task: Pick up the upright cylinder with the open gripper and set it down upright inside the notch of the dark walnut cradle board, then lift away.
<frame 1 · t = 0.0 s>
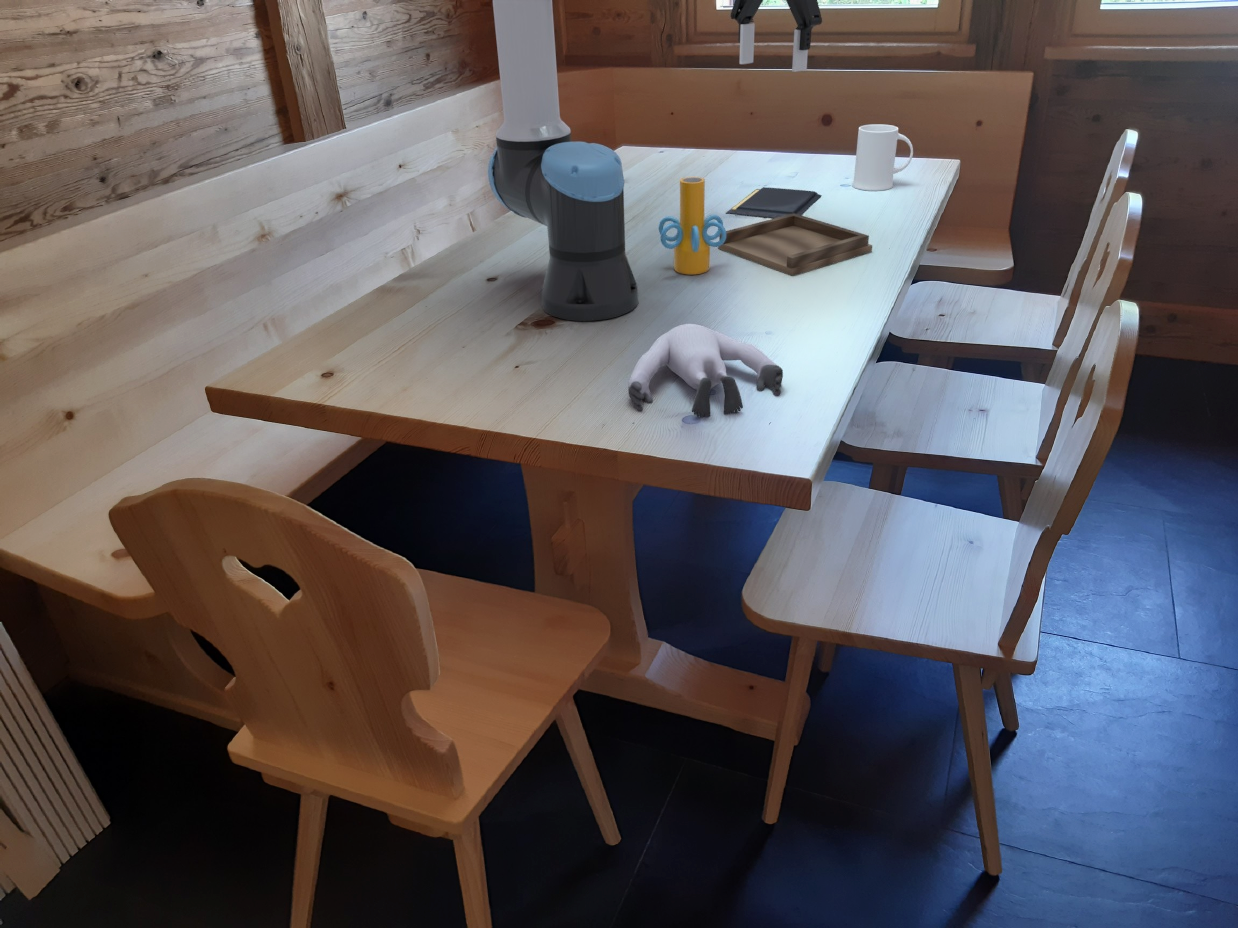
hand: (772, 67, 161), 28 cm above the table, fingers open, 13 cm apart
wallet: (774, 208, 188), on the table
cylinder: (691, 270, 155), on the table
notched cradle: (793, 250, 162), on the table
yeti figurine: (702, 385, 119), on the table
mug: (880, 187, 196), on the table
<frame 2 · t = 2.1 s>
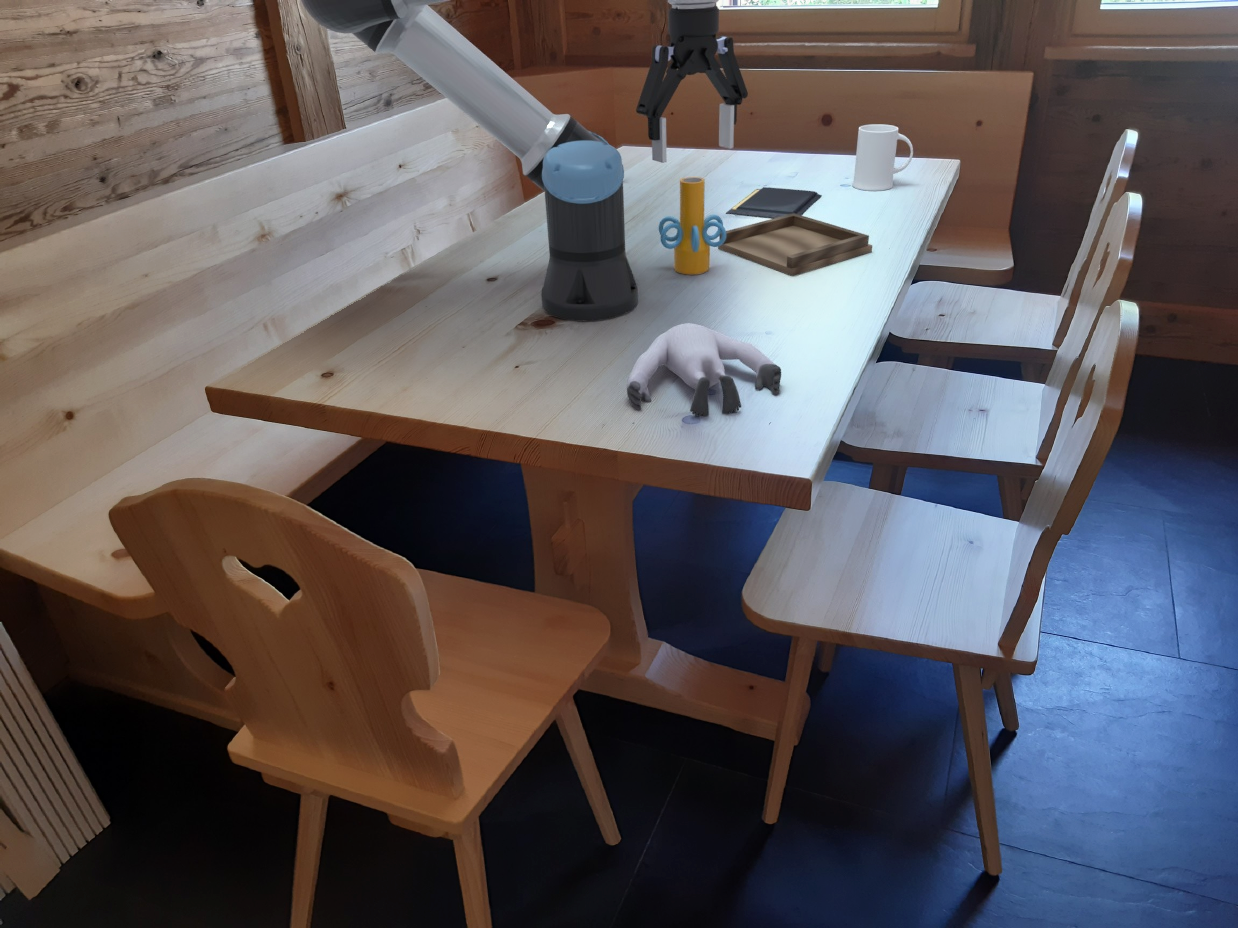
hand: (693, 154, 145), 19 cm above the table, fingers open, 13 cm apart
nothing on the table moved.
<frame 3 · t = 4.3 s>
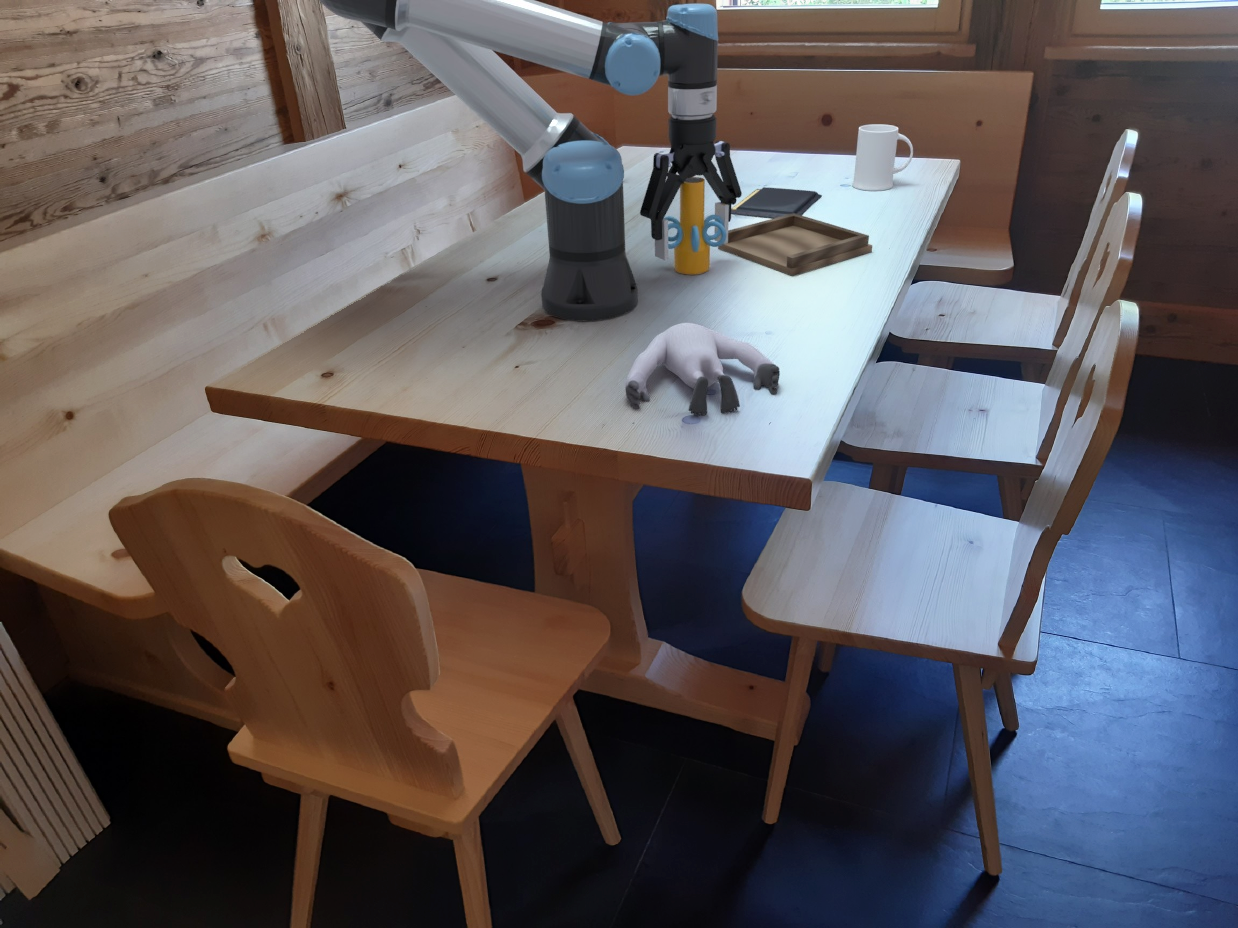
hand: (691, 249, 153), 3 cm above the table, fingers closed on cylinder, 12 cm apart
cylinder: (691, 270, 155), on the table, touching gripper
everything else where it was.
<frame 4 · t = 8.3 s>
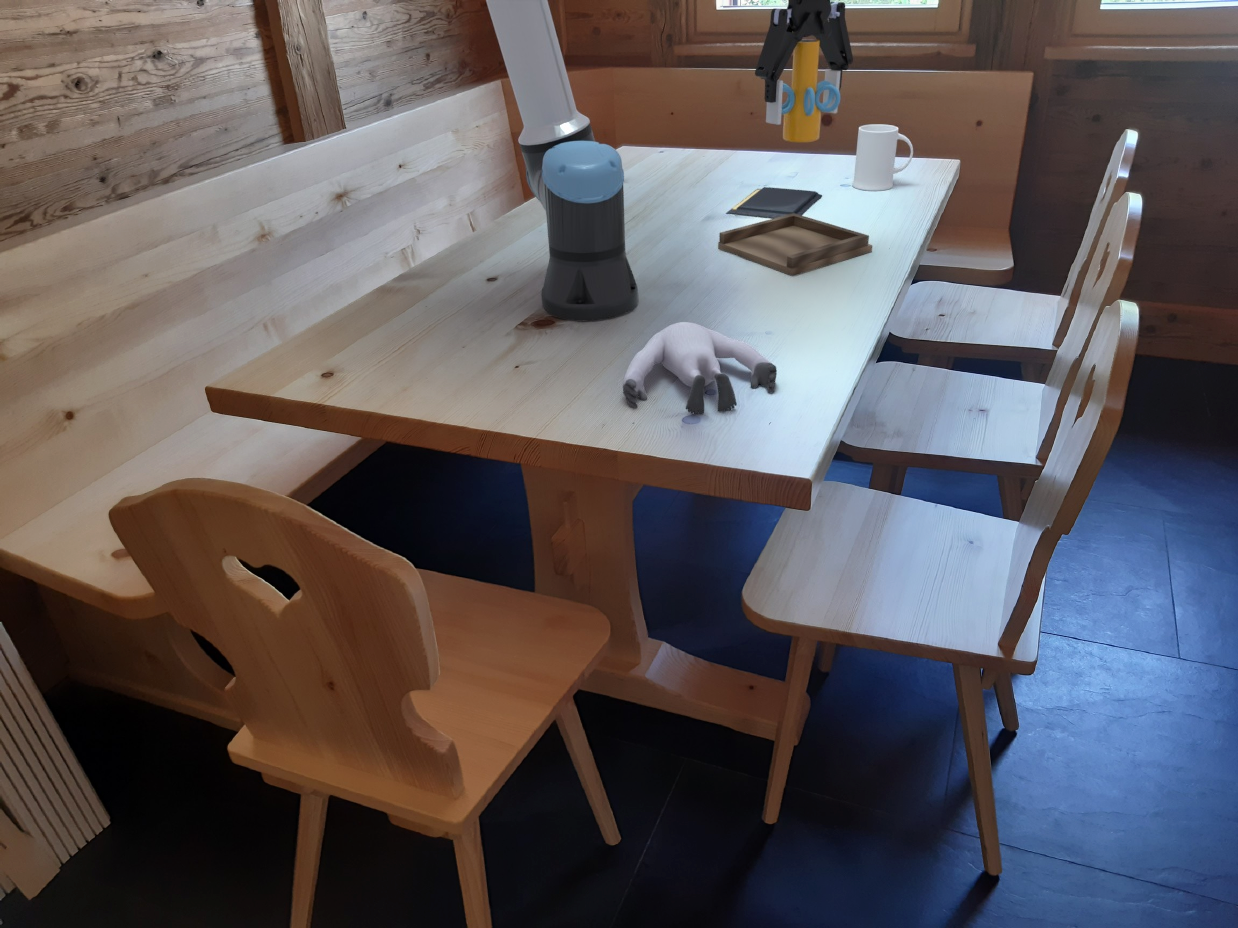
hand: (802, 118, 150), 22 cm above the table, fingers closed on cylinder, 12 cm apart
cylinder: (800, 140, 152), point 19 cm above the table, touching gripper
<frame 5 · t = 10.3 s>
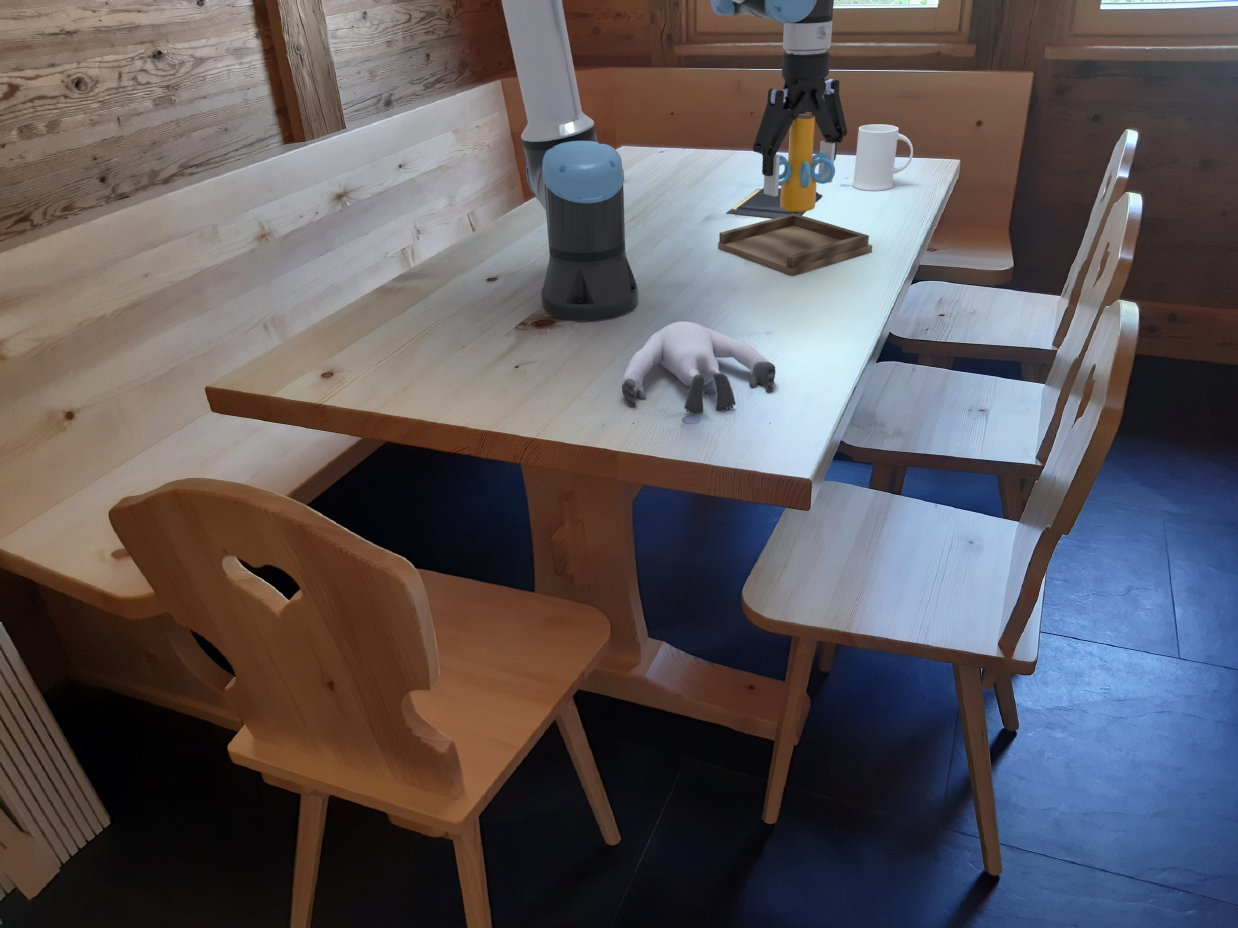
hand: (798, 188, 156), 11 cm above the table, fingers closed on cylinder, 12 cm apart
cylinder: (797, 209, 158), point 7 cm above the table, touching gripper
when the fingers open (7 cm above the table, at t = 12.3 s): cylinder drops 2 cm, resting on notched cradle.
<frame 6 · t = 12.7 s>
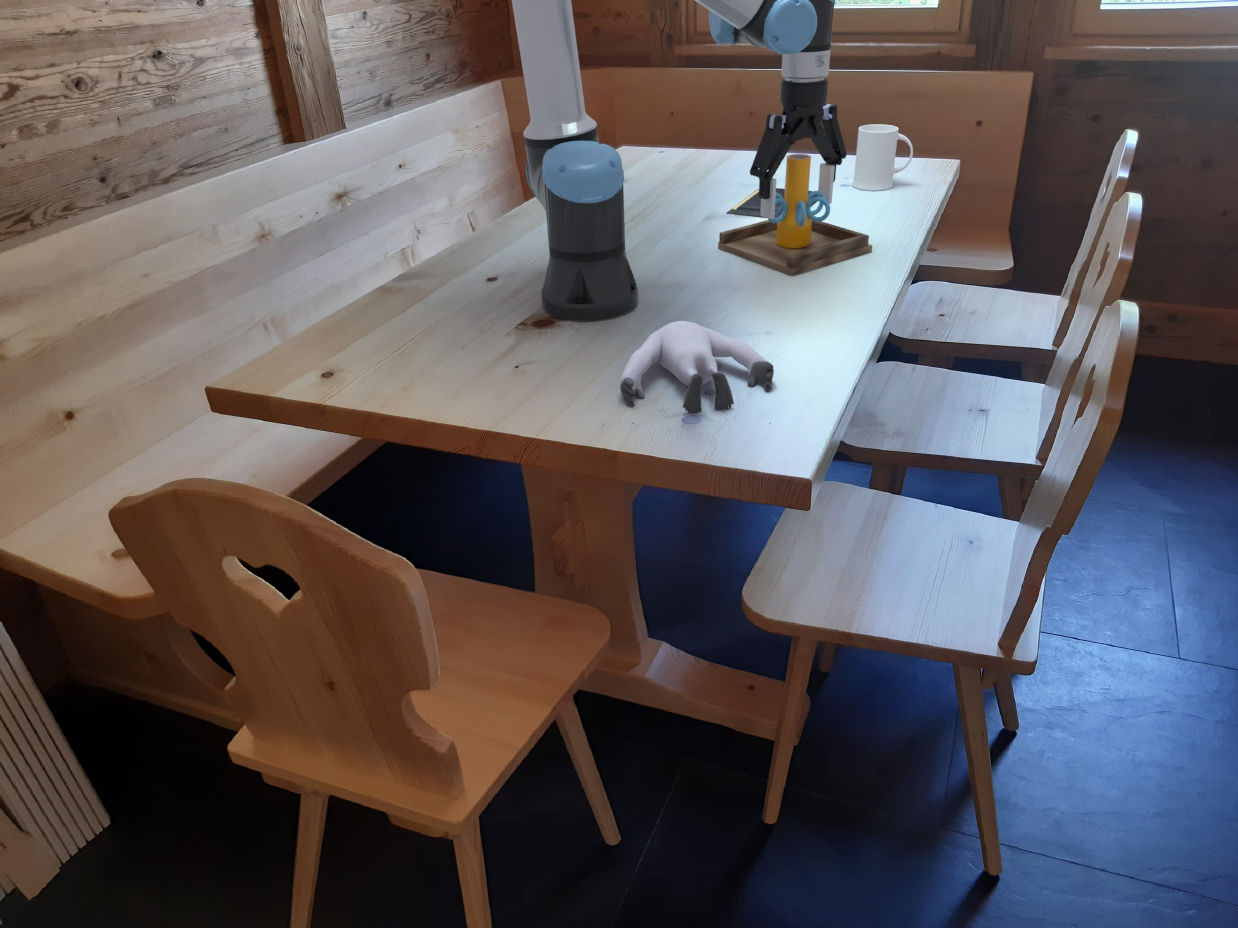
hand: (796, 209, 158), 7 cm above the table, fingers open, 13 cm apart
cylinder: (792, 245, 161), point 1 cm above the table, touching notched cradle
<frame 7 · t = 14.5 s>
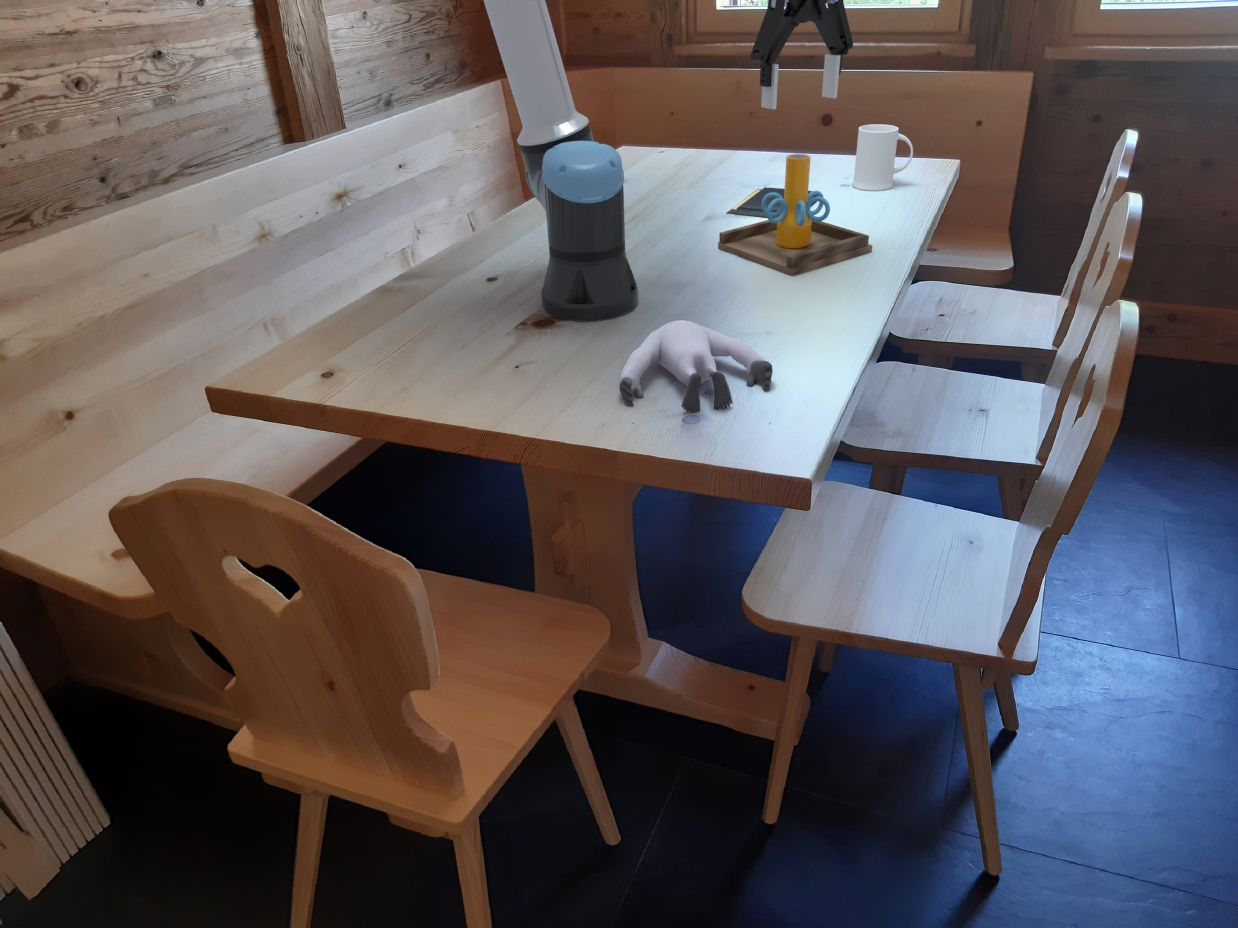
hand: (799, 103, 149), 25 cm above the table, fingers open, 13 cm apart
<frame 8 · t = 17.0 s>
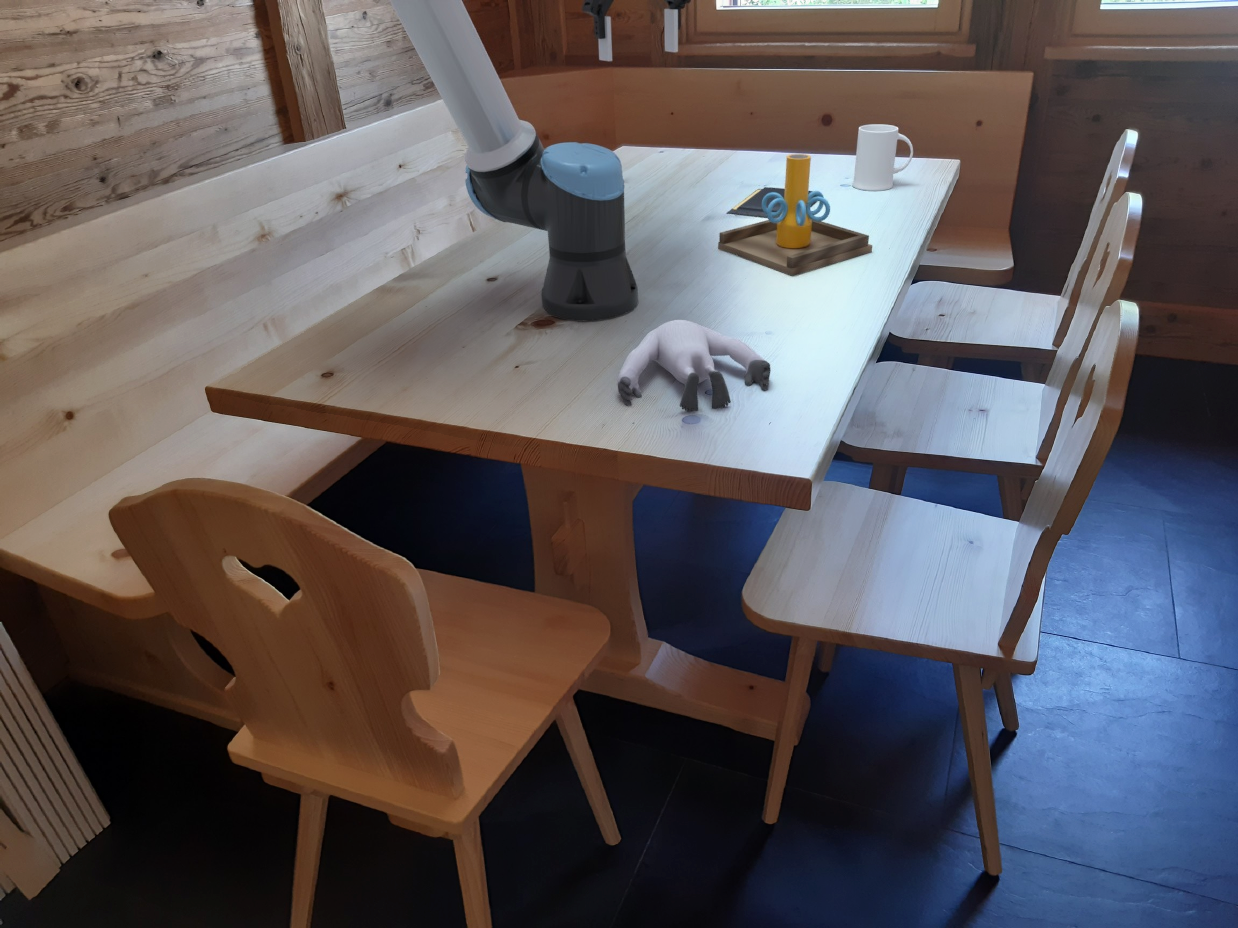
hand: (639, 56, 153), 32 cm above the table, fingers open, 13 cm apart
at the end: cylinder 0.3 cm off-centre on the notched cradle, point 1.0 cm above the notched cradle's base; cylinder tilted 0°; the gripper is holding nothing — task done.
